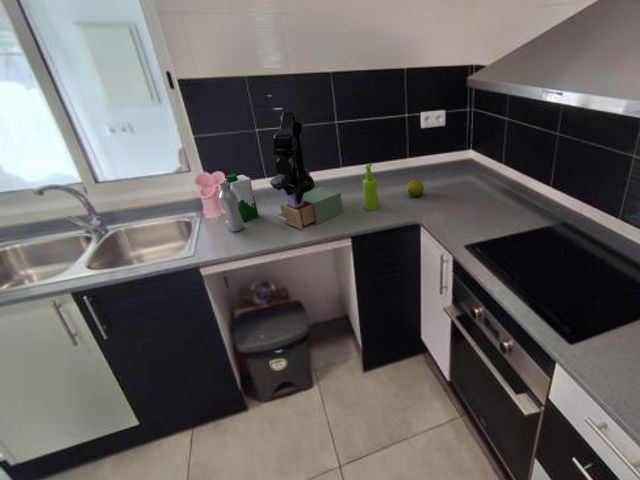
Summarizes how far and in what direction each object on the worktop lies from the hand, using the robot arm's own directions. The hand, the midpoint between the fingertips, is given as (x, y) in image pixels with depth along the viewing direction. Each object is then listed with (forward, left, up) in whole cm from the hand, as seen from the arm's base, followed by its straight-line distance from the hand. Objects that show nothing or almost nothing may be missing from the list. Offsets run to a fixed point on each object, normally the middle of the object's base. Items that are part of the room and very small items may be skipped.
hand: (295, 202), depth 156 cm
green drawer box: (0, +11, -10) cm, 15 cm away
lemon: (+21, +52, -10) cm, 57 cm away
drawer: (0, +1, -9) cm, 9 cm away
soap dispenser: (+13, +30, -10) cm, 35 cm away
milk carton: (-24, -10, -10) cm, 28 cm away
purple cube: (0, 0, -1) cm, 1 cm away
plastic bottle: (-17, -19, -10) cm, 27 cm away
